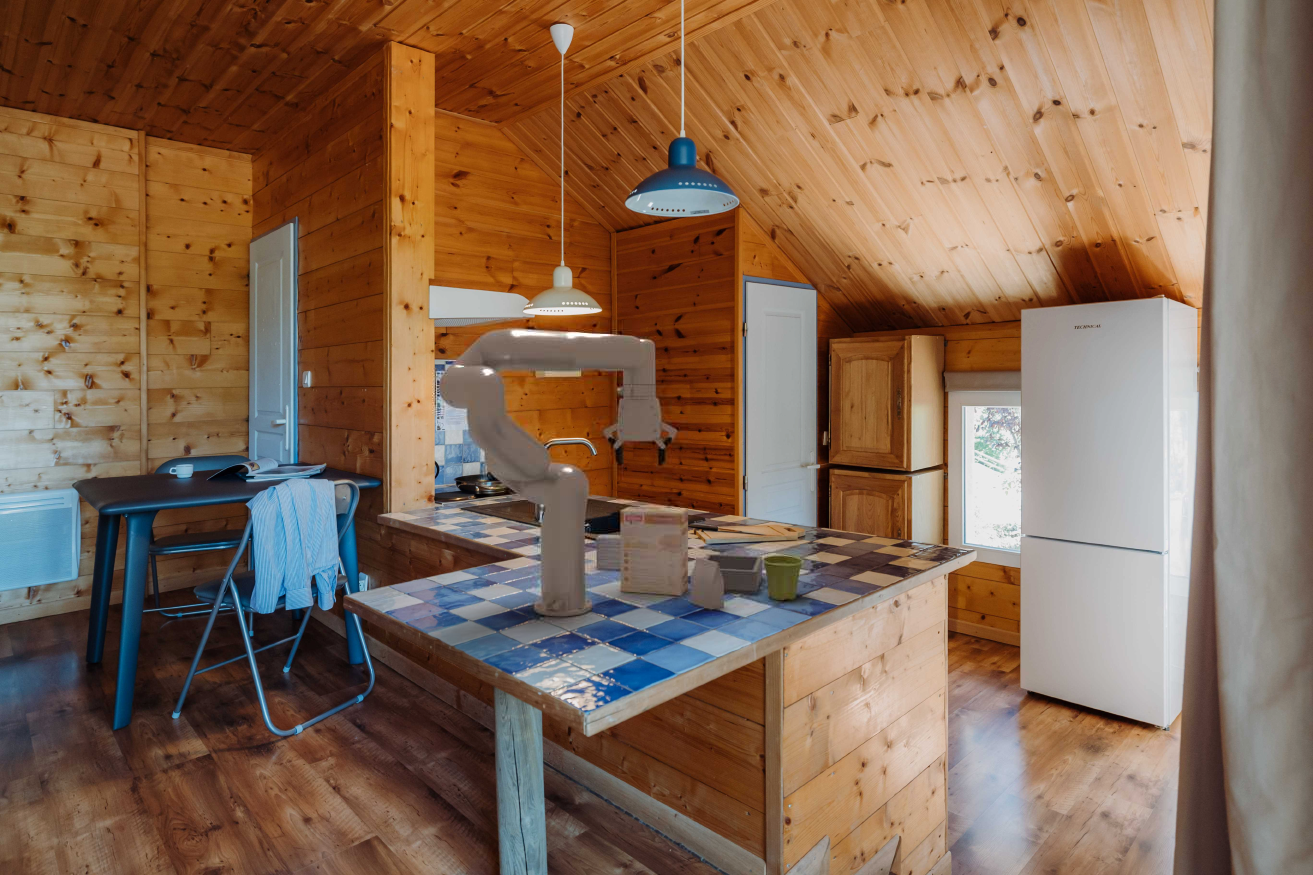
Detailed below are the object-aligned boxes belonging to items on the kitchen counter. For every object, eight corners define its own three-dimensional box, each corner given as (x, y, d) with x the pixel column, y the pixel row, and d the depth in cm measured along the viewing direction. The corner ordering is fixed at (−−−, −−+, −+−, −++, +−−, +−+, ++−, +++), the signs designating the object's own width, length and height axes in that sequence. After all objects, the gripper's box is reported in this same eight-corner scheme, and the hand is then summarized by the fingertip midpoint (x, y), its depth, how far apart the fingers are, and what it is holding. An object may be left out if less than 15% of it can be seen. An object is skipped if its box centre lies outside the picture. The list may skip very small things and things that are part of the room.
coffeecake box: (688, 588, 179) (688, 508, 178) (681, 596, 172) (681, 512, 171) (629, 584, 183) (628, 505, 182) (619, 592, 176) (619, 510, 175)
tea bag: (711, 609, 162) (711, 564, 161) (690, 602, 167) (690, 558, 166) (723, 606, 164) (723, 561, 164) (702, 599, 169) (702, 556, 169)
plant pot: (808, 594, 173) (809, 558, 173) (794, 605, 165) (795, 566, 164) (771, 589, 178) (771, 553, 177) (755, 599, 170) (755, 561, 169)
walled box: (756, 594, 173) (756, 571, 173) (696, 591, 176) (696, 568, 176) (762, 578, 189) (762, 556, 188) (707, 575, 192) (707, 553, 191)
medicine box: (628, 566, 201) (627, 534, 201) (625, 570, 197) (625, 538, 196) (599, 566, 202) (598, 534, 201) (596, 569, 198) (596, 537, 197)
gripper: (599, 393, 172) (601, 466, 173) (674, 392, 170) (674, 467, 171) (606, 392, 180) (608, 463, 181) (678, 391, 177) (678, 463, 178)
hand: (640, 465), depth 176 cm, fingers open, 9 cm apart
